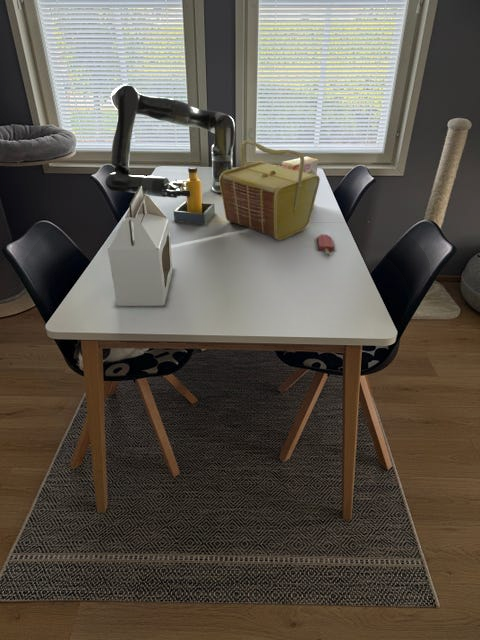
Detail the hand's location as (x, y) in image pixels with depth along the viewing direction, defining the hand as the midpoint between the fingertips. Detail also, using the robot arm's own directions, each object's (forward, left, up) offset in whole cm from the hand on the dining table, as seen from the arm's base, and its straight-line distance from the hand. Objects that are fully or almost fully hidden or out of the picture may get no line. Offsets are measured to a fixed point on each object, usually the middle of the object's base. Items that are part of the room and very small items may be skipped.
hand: (193, 190), depth 175 cm
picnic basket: (-21, +21, -12) cm, 32 cm away
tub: (0, 0, -12) cm, 12 cm away
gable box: (+37, +43, -12) cm, 58 cm away
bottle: (0, 0, -11) cm, 11 cm away
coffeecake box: (-44, +9, -12) cm, 46 cm away
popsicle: (-28, +47, -12) cm, 56 cm away
